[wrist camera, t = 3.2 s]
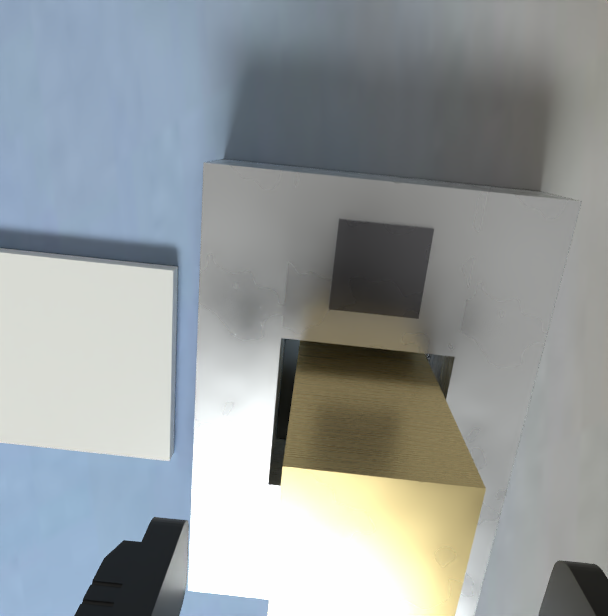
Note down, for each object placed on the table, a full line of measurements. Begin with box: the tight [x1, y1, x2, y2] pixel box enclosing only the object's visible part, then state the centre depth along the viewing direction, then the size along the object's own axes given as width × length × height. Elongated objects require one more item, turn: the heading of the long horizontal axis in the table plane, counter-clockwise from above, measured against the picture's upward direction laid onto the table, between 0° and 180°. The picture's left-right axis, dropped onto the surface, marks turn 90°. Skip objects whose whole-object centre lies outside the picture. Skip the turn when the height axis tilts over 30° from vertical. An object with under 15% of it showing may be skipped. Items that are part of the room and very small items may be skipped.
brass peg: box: [268, 340, 486, 616], centre depth 16 cm, size 4×4×9 cm
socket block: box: [188, 159, 582, 616], centre depth 19 cm, size 11×16×3 cm
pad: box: [0, 248, 178, 461], centre depth 20 cm, size 8×8×1 cm
